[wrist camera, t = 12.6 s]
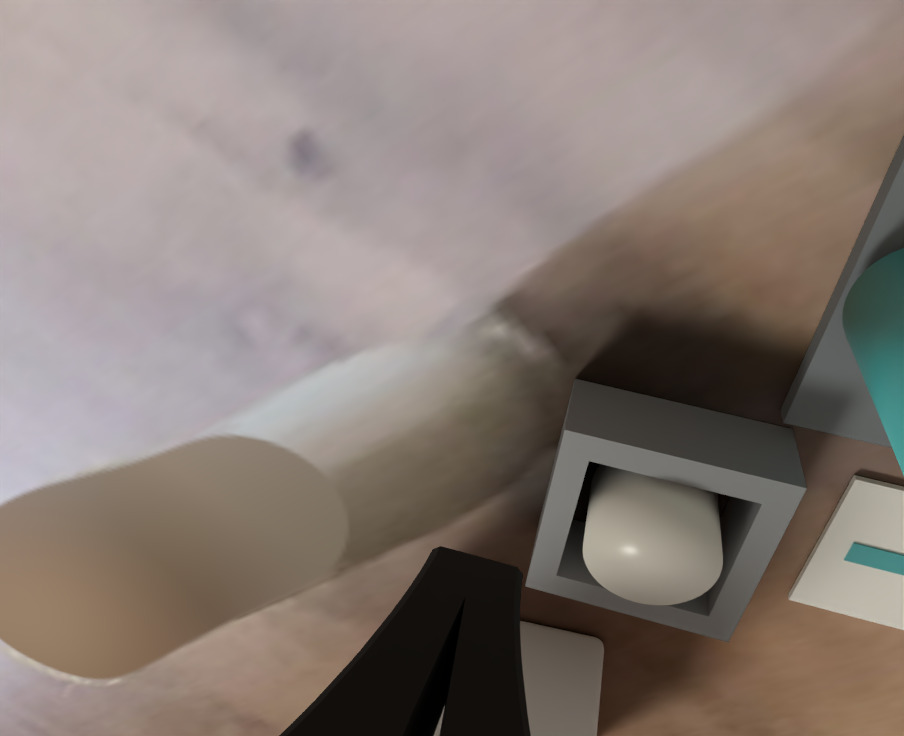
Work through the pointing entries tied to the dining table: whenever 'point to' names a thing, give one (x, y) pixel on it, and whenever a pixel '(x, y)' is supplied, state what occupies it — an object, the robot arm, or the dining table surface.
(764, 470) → the button box
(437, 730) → the medicine bottle
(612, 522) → the button
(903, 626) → the card
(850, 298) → the marker
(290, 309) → the dining table surface
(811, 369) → the board
